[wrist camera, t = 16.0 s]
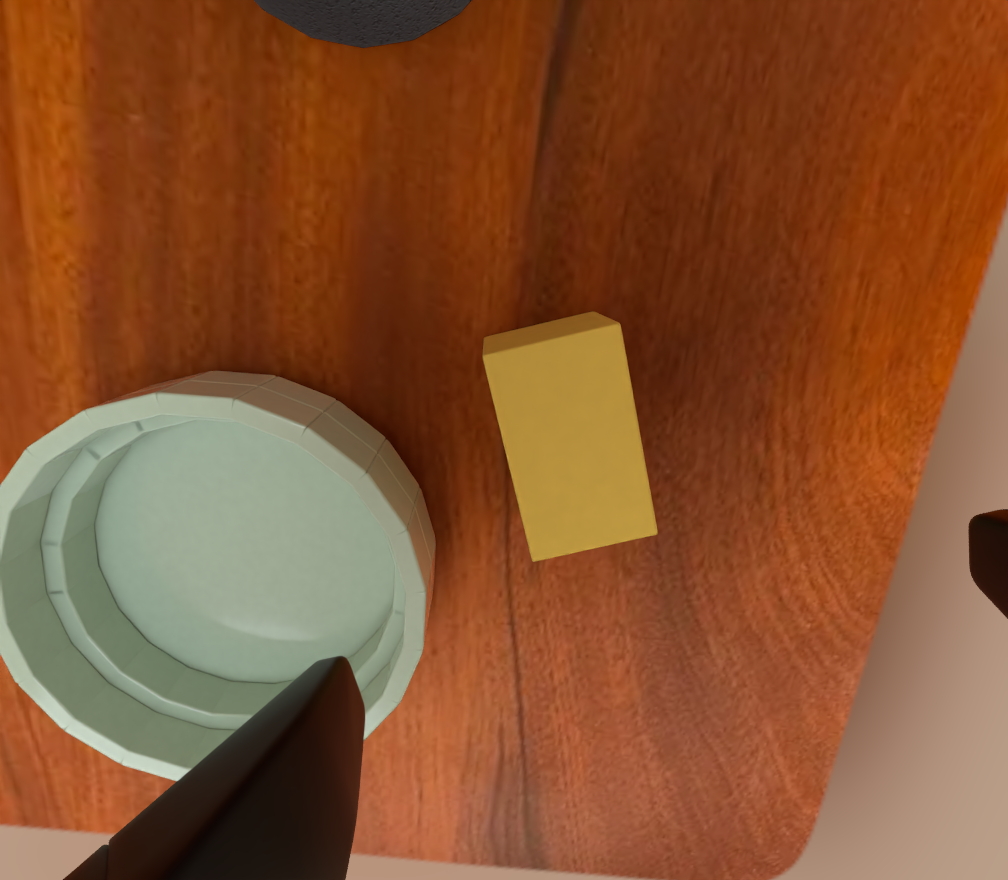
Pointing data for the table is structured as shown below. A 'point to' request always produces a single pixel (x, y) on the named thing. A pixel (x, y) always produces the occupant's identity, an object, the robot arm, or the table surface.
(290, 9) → the mug
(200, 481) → the bowl
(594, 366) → the sponge
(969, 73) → the table surface
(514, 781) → the table surface
